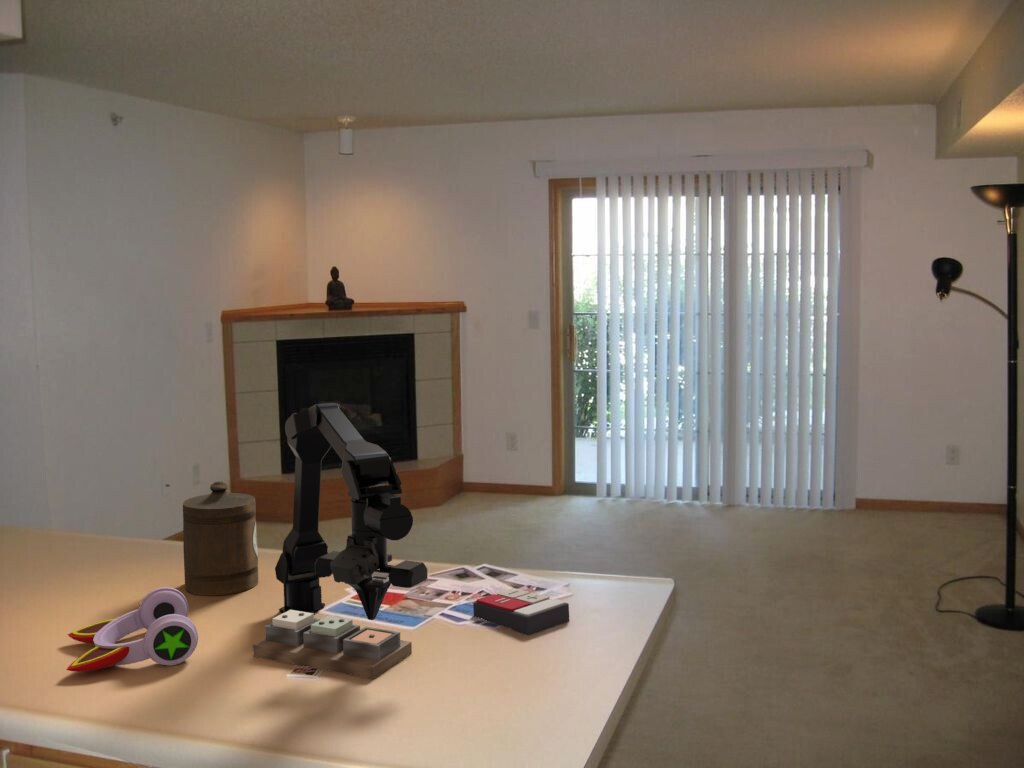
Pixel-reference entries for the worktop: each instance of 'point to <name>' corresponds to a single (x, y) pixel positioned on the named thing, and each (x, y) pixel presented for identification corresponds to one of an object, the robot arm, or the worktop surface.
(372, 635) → the button terracotta
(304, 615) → the button cream
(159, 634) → the headphones
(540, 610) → the calculator
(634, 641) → the worktop surface
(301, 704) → the worktop surface
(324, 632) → the button sage
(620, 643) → the worktop surface
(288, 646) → the button panel
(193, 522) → the wooden container
